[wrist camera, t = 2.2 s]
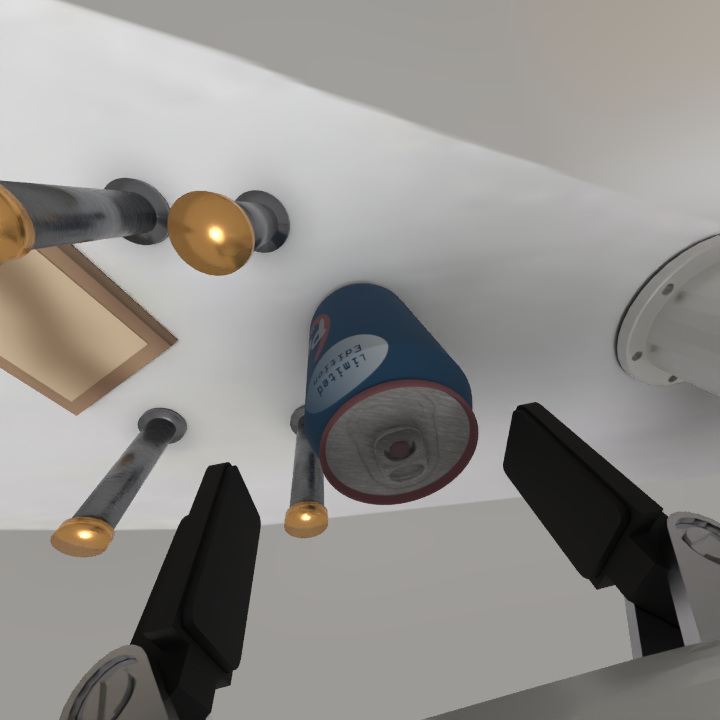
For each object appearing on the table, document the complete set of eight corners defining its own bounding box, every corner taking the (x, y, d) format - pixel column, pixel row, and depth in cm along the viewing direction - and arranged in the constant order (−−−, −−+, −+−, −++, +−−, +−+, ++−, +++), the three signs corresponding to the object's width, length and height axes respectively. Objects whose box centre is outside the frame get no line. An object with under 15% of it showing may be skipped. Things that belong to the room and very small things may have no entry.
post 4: (314, 398, 23) (311, 498, 15) (337, 422, 24) (345, 525, 17) (282, 418, 23) (264, 524, 16) (306, 440, 25) (301, 549, 17)
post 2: (161, 401, 21) (69, 514, 13) (195, 427, 23) (130, 543, 15) (130, 422, 22) (25, 543, 14) (166, 446, 23) (88, 568, 15)
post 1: (134, 164, 15) (-74, 116, 7) (185, 222, 16) (59, 236, 8) (92, 202, 15) (-148, 198, 7) (145, 255, 17) (-9, 298, 9)
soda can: (295, 297, 19) (266, 408, 9) (395, 265, 19) (490, 338, 8) (328, 380, 22) (338, 534, 12) (414, 354, 22) (499, 485, 12)
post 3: (263, 178, 16) (209, 148, 8) (300, 231, 17) (285, 251, 9) (220, 213, 16) (127, 219, 8) (259, 262, 18) (211, 306, 10)
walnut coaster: (38, 214, 15) (19, 215, 14) (177, 340, 19) (170, 346, 18) (-63, 308, 17) (-87, 315, 16) (86, 407, 21) (75, 416, 20)
